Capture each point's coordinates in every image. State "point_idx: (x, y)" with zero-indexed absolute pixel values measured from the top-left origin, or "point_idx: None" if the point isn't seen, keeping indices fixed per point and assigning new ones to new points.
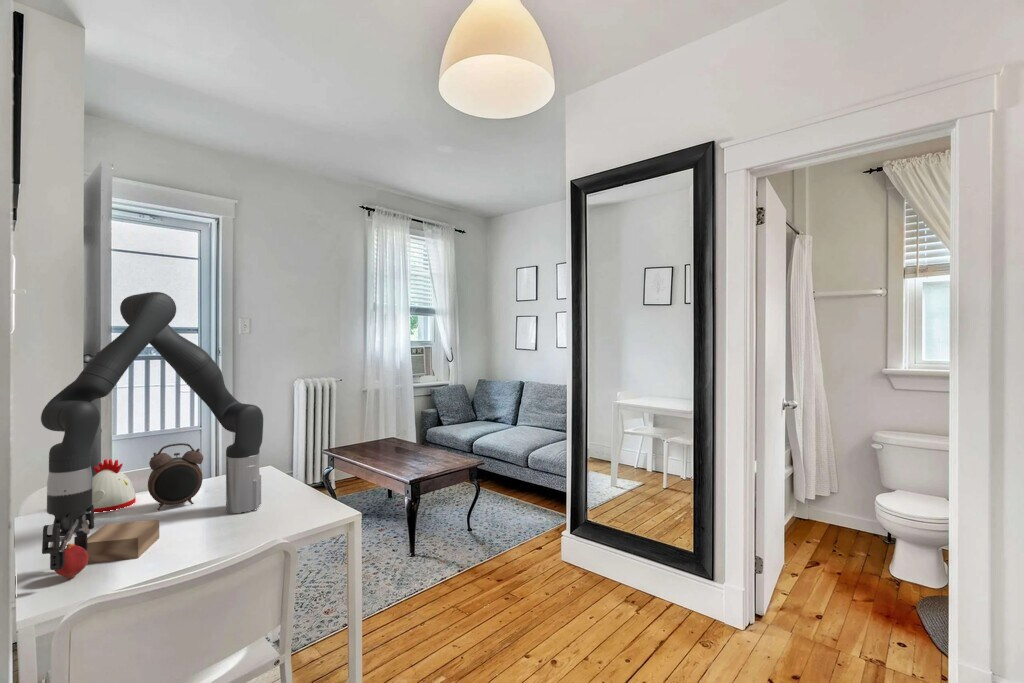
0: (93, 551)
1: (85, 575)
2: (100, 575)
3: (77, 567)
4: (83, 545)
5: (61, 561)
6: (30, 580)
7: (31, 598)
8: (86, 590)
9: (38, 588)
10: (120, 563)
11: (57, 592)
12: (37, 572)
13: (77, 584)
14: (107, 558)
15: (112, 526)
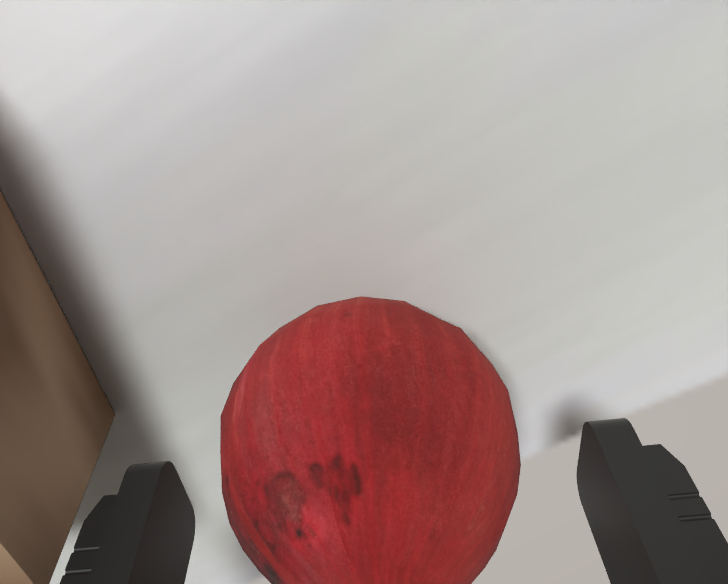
0: (28, 418)
1: (332, 246)
2: (353, 98)
3: (454, 331)
4: (154, 541)
5: (660, 492)
6: None
7: (667, 375)
8: (714, 19)
9: None
10: (46, 57)
11: (635, 268)
12: None
13: (520, 201)
14: (9, 252)
15: None
